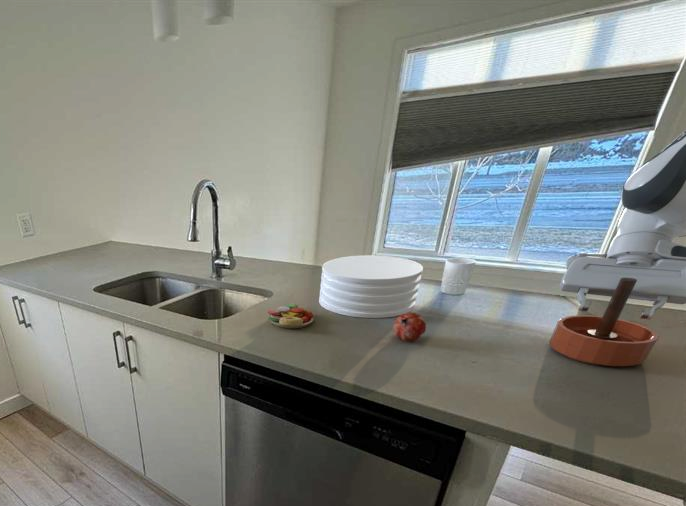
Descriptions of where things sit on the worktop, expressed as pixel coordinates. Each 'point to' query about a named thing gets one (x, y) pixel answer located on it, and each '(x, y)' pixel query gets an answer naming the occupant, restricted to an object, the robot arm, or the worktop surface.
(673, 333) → the worktop surface
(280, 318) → the toy food set
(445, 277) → the white cup
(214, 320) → the worktop surface
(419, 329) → the pomegranate
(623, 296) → the muddler
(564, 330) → the bowl
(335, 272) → the plate stack
